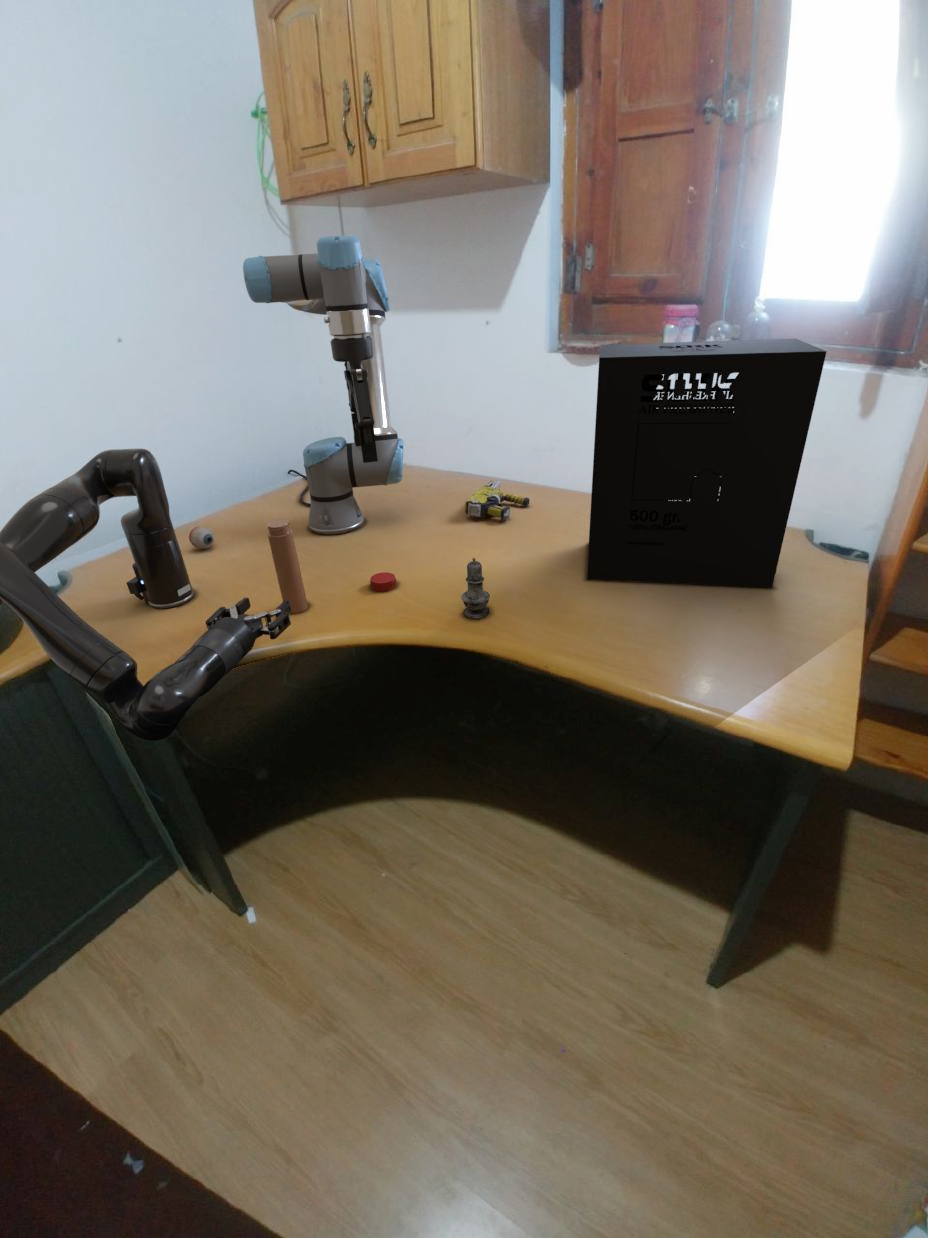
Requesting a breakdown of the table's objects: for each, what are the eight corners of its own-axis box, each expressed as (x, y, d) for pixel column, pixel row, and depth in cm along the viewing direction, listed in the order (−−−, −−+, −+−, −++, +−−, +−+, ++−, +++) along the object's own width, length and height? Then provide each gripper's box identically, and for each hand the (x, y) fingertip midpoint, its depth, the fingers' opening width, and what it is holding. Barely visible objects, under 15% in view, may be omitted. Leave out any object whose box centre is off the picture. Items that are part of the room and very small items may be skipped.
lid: (401, 582, 136) (400, 574, 135) (387, 593, 132) (386, 585, 131) (380, 578, 138) (379, 570, 137) (366, 589, 134) (364, 580, 133)
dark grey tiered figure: (488, 619, 119) (486, 564, 113) (459, 618, 120) (455, 563, 114) (493, 605, 124) (491, 551, 118) (465, 604, 125) (462, 550, 119)
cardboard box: (752, 548, 142) (795, 338, 119) (772, 587, 124) (826, 351, 102) (589, 543, 149) (600, 344, 127) (586, 579, 132) (599, 357, 110)
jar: (289, 616, 125) (270, 530, 116) (281, 607, 129) (261, 523, 119) (311, 608, 127) (294, 523, 118) (302, 600, 131) (285, 517, 121)
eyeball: (203, 554, 156) (196, 532, 153) (187, 550, 159) (181, 528, 156) (222, 546, 160) (216, 524, 157) (206, 542, 163) (200, 521, 160)
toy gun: (537, 485, 181) (489, 478, 185) (516, 509, 160) (463, 500, 164) (535, 500, 183) (488, 493, 187) (515, 526, 163) (463, 517, 167)
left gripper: (190, 662, 107) (239, 617, 120) (263, 670, 104) (305, 622, 117) (178, 626, 103) (230, 583, 116) (253, 633, 100) (298, 588, 113)
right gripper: (325, 332, 119) (341, 441, 130) (335, 343, 98) (353, 471, 109) (363, 329, 121) (376, 437, 132) (380, 340, 100) (394, 466, 110)
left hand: (268, 603), depth 117 cm, fingers open, 8 cm apart
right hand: (366, 453), depth 120 cm, fingers open, 13 cm apart
